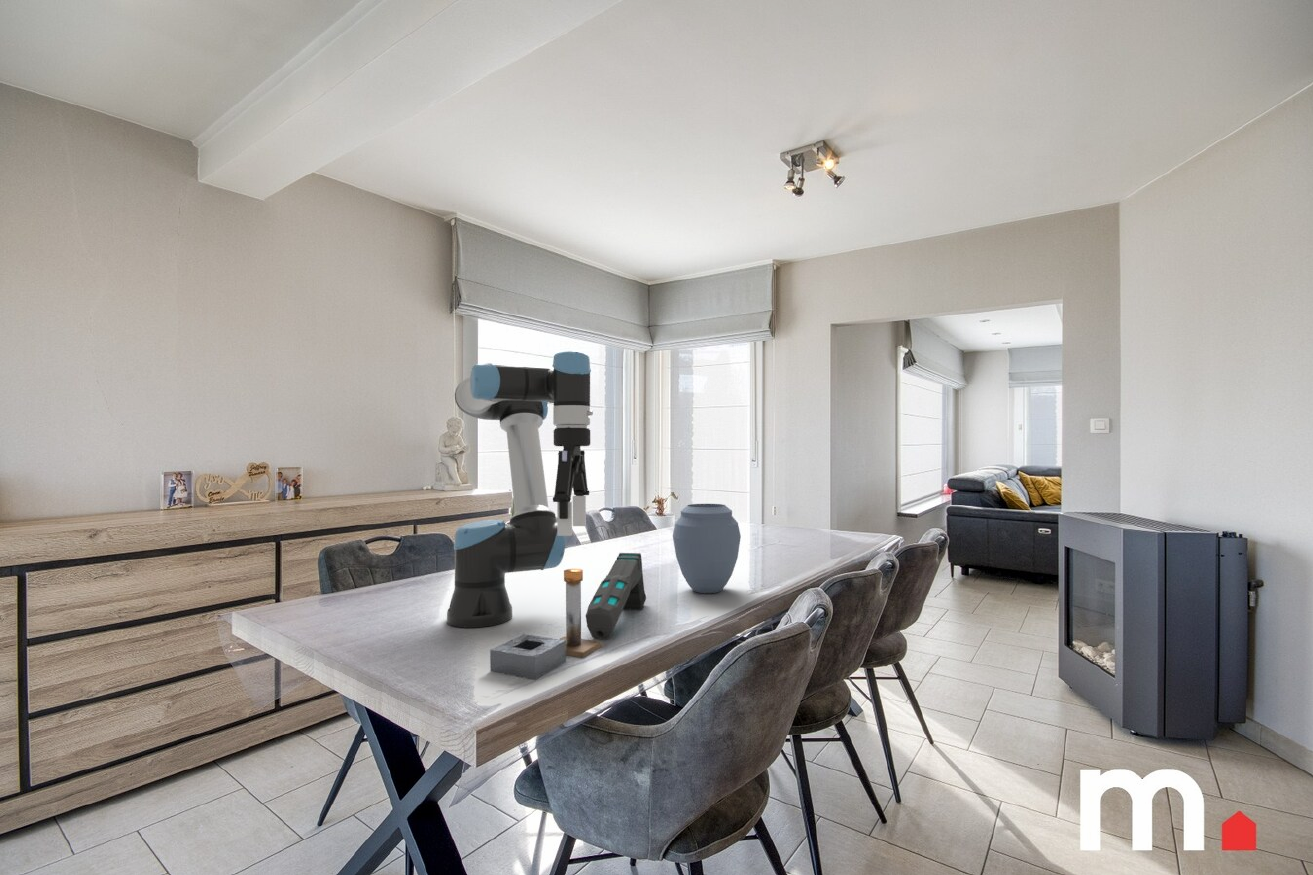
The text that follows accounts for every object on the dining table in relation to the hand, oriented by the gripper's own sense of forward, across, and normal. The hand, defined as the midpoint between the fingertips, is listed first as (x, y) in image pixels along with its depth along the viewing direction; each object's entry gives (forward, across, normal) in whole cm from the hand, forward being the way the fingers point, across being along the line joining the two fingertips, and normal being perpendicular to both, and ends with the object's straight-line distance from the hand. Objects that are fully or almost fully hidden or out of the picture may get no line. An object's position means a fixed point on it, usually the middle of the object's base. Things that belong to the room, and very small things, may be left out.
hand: (572, 530), depth 122 cm
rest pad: (+24, 0, 0) cm, 24 cm away
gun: (+25, +20, -7) cm, 32 cm away
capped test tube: (+23, 0, 0) cm, 23 cm away
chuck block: (+24, -10, +6) cm, 27 cm away
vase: (+24, +51, -28) cm, 63 cm away
